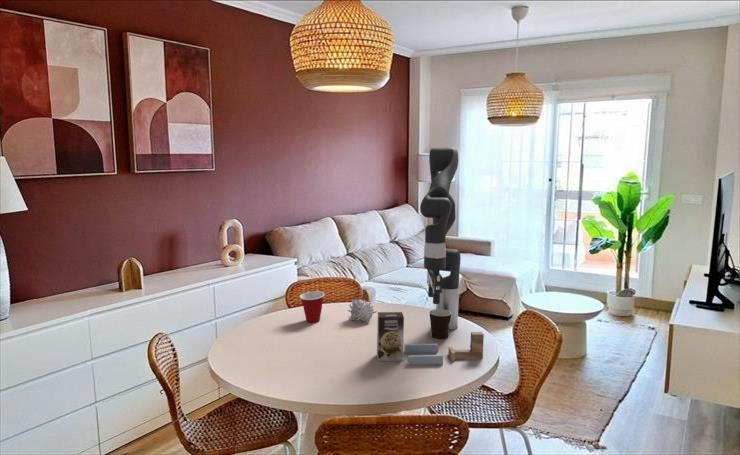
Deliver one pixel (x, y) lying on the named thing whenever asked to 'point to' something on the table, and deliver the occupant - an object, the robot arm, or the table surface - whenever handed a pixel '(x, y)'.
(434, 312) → the coffee mug
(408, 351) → the acrylic channel
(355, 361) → the table surface
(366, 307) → the sea urchin
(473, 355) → the wooden t-shaped piece
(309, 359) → the table surface
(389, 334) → the coffee box
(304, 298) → the plastic cup
